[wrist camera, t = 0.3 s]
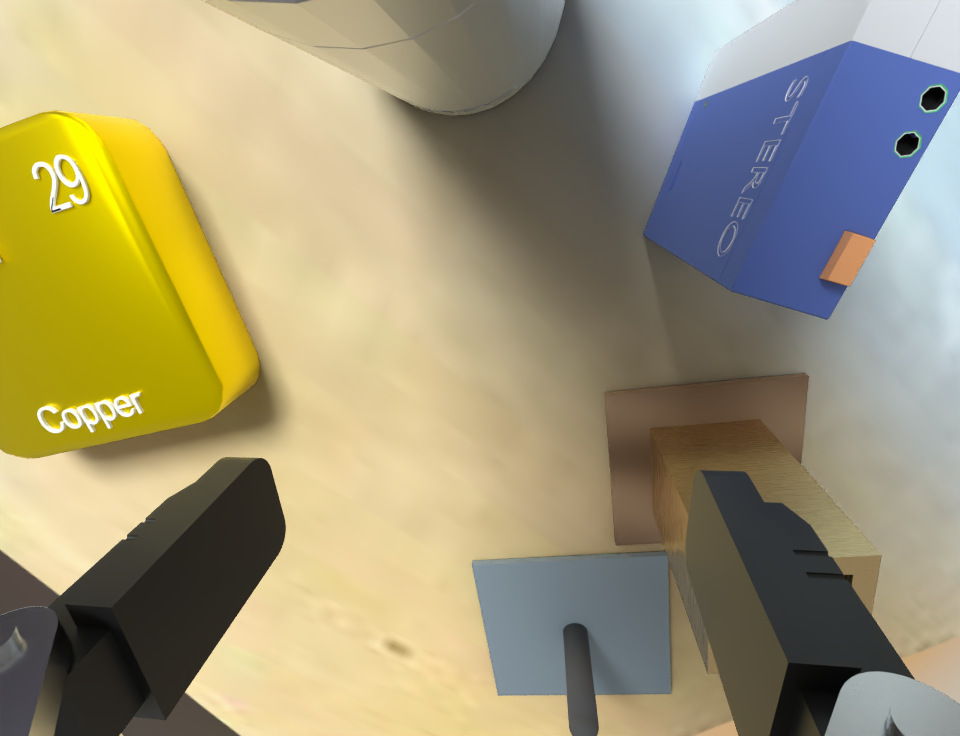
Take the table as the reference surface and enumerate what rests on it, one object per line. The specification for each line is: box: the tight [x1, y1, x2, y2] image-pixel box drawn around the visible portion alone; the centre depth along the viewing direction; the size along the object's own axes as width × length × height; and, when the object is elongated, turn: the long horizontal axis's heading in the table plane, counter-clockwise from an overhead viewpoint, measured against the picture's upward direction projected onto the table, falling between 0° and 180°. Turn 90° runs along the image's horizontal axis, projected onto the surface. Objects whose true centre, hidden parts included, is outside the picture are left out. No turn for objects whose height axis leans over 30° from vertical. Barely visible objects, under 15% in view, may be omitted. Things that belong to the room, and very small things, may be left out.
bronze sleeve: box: [650, 419, 882, 674], centre depth 23 cm, size 6×6×10 cm
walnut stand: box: [605, 373, 809, 545], centre depth 22 cm, size 10×10×12 cm
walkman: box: [643, 0, 960, 319], centre depth 17 cm, size 8×3×12 cm, turn 165°
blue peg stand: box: [472, 551, 671, 736], centre depth 30 cm, size 12×12×7 cm
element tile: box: [0, 110, 260, 459], centre depth 26 cm, size 15×15×5 cm
